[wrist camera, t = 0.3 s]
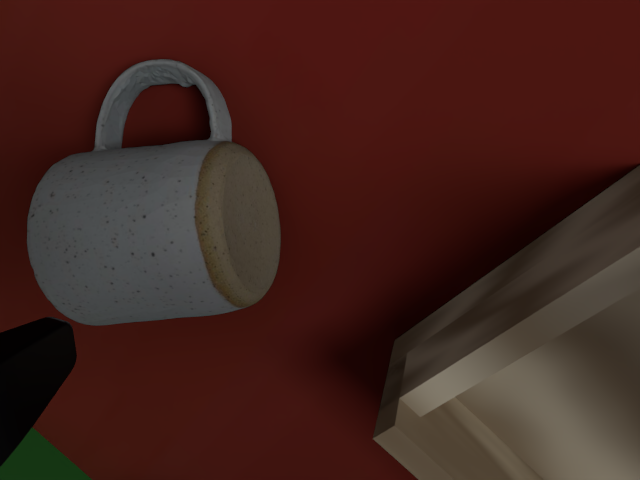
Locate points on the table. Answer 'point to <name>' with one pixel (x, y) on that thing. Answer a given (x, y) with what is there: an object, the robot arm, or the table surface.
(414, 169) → the table surface
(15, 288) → the table surface
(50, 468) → the hardback book
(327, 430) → the table surface
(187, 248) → the ceramic mug
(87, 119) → the table surface
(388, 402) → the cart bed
